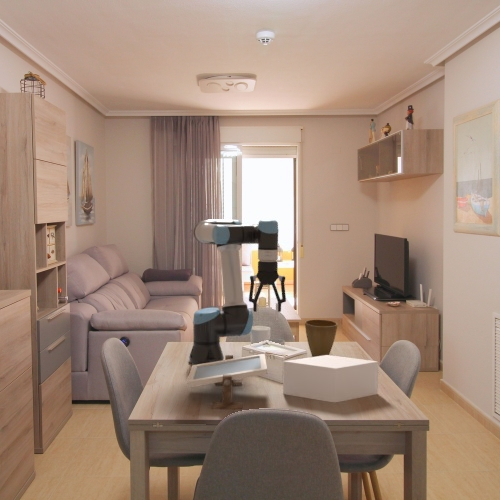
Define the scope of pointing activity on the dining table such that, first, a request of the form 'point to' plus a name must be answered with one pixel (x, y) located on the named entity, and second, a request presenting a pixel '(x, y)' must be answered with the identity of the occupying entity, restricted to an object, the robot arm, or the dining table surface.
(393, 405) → the dining table surface
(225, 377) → the walnut stand
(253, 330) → the candle holder
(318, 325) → the plant pot
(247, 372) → the tilted frame
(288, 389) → the block
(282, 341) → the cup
